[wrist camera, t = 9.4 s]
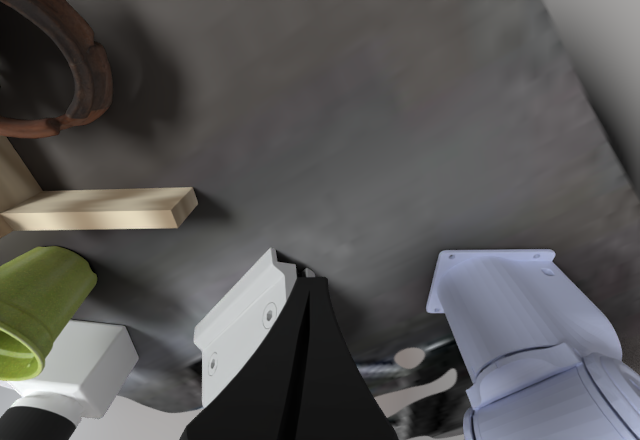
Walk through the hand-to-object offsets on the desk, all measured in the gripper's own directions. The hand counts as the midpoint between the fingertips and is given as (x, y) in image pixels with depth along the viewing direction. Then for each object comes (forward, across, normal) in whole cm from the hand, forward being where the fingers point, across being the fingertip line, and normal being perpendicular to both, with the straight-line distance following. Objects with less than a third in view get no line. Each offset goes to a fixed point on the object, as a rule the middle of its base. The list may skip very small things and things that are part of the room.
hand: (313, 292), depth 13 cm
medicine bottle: (+11, +28, +20) cm, 36 cm away
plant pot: (+11, +26, +8) cm, 29 cm away
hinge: (+11, +7, +14) cm, 19 cm away
